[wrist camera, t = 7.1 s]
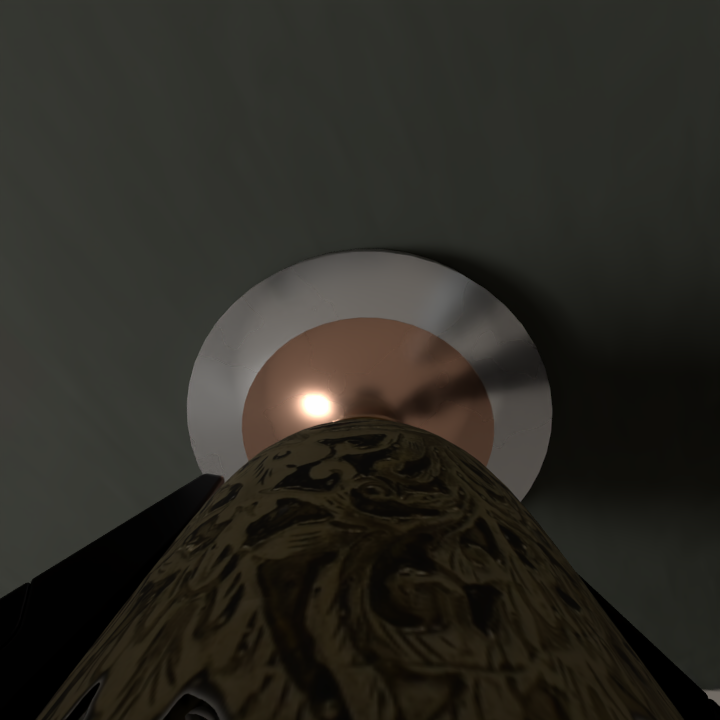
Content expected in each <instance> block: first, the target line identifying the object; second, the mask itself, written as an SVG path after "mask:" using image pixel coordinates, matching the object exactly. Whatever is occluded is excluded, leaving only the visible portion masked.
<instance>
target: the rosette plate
mask: <svg viewBox="0 0 720 720" xmlns="http://www.w3.org/2000/svg"><path fill="white" fill-rule="evenodd" d="M354 414H378V415H383V416H386V417H389V418H392V419H395V420H397V421H399V422H401V423H403V424H408V425H411V426H414V427H417V428H421V429H424V430H426V431H429V432H431V433H433V434H436V435H438V436H440V437H442V438H444V439H446V440H447V441H449V442H451V443H453V444H454V445H456V446H458V447H460V448H461V449H463V450H465V451H466V452H468V453H469V454H470V455H472V456H473V457H475V458H476V459H477V460H479V461H480V462H481V463H482V464H483V465H484V466H485V467H486V468H487V469H489V470H490V471H491V472H492V473H493V474H494V475H495V476H496V477H497V478H498V479H499V480H500V481H501V482H502V483H504V484H505V485H506V486H507V487H508V488H509V490H510V491H511V492H512V493H513V494H514V495H515V496H516V498H517V499H518V500H519V501H520V502H521V501H522V499H523V498H524V497H525V495H526V494H527V493H528V491H529V490H530V488H531V486H532V484H533V483H534V481H535V479H536V477H537V475H538V473H539V471H540V469H541V466H542V463H543V461H544V458H545V455H546V453H547V448H548V444H549V439H550V434H551V424H552V402H551V391H550V386H549V382H548V378H547V374H546V370H545V367H544V364H543V362H542V360H541V357H540V355H539V353H538V351H537V348H536V346H535V344H534V343H533V341H532V339H531V338H530V336H529V335H528V333H527V332H526V330H525V328H524V327H523V325H522V324H521V323H520V322H519V321H518V320H517V318H516V317H515V316H514V315H513V314H512V313H511V311H510V310H509V309H508V308H507V307H506V306H505V305H504V304H503V303H502V302H500V301H499V300H498V299H497V298H496V297H494V296H493V295H492V294H491V293H490V292H489V291H487V290H486V289H485V288H483V287H481V286H480V285H478V284H477V283H475V282H473V281H472V280H470V279H469V278H467V277H465V276H464V275H462V274H461V273H459V272H457V271H456V270H454V269H452V268H450V267H448V266H445V265H443V264H441V263H439V262H436V261H434V260H432V259H429V258H425V257H422V256H418V255H415V254H411V253H408V252H402V251H395V250H388V249H349V250H341V251H334V252H329V253H325V254H322V255H318V256H314V257H311V258H307V259H305V260H303V261H300V262H298V263H296V264H293V265H291V266H289V267H286V268H284V269H283V270H281V271H279V272H277V273H275V274H274V275H272V276H270V277H269V278H267V279H266V280H264V281H262V282H261V283H259V284H257V285H256V286H254V287H253V288H251V289H250V290H249V291H248V292H247V293H245V294H244V295H243V296H242V297H241V298H239V299H238V300H237V301H236V302H235V303H233V304H232V306H231V307H230V308H229V309H228V310H227V311H226V312H225V313H224V315H223V316H222V317H221V318H220V319H219V320H218V321H217V323H216V324H215V326H214V327H213V329H212V330H211V332H210V333H209V335H208V336H207V338H206V340H205V341H204V343H203V345H202V348H201V350H200V352H199V354H198V357H197V359H196V361H195V364H194V368H193V371H192V375H191V379H190V382H189V390H188V399H187V420H188V429H189V435H190V440H191V445H192V448H193V451H194V454H195V457H196V460H197V463H198V465H199V467H200V469H201V471H202V473H203V474H205V473H210V474H215V475H221V476H223V477H224V480H225V482H226V481H227V480H228V479H229V478H230V477H231V476H232V475H233V474H234V473H235V472H237V471H238V470H239V469H240V468H241V467H242V466H243V465H245V464H246V463H247V462H248V461H249V460H250V459H252V458H253V457H254V456H256V455H257V454H259V453H260V452H261V451H263V450H264V449H266V448H268V447H269V446H271V445H273V444H275V443H276V442H278V441H280V440H282V439H284V438H286V437H287V436H289V435H292V434H294V433H296V432H299V431H301V430H303V429H306V428H310V427H313V426H316V425H320V424H324V423H329V422H333V421H335V420H337V419H339V418H342V417H345V416H349V415H354Z"/></svg>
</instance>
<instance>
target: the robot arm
mask: <svg viewBox="0 0 720 720" xmlns="http://www.w3.org/2000/svg"><path fill="white" fill-rule="evenodd" d="M224 483H225V480H224V477H223V476H221V475H215V474H210V473H205V474H203V475H201V476H199V477H198V478H196V479H195V480H193V481H191V482H190V483H188V484H186V485H185V486H183V487H181V488H180V489H178V490H177V491H175V492H173V493H172V494H170V495H168V496H167V497H165V498H164V499H162V500H160V501H159V502H157V503H155V504H154V505H152V506H151V507H149V508H147V509H146V510H144V511H142V512H141V513H139V514H138V515H136V516H134V517H133V518H131V519H129V520H128V521H126V522H125V523H123V524H121V525H120V526H118V527H116V528H115V529H113V530H111V531H110V532H108V533H107V534H105V535H103V536H102V537H100V538H98V539H97V540H95V541H94V542H92V543H90V544H89V545H87V546H85V547H84V548H82V549H81V550H79V551H77V552H76V553H74V554H72V555H71V556H69V557H68V558H66V559H64V560H63V561H61V562H59V563H58V564H56V565H54V566H53V567H51V568H50V569H48V570H46V571H45V572H43V573H41V574H40V575H38V576H37V577H35V578H33V579H32V581H31V584H30V583H25V584H23V585H22V586H20V587H18V588H17V589H15V590H13V591H12V592H10V593H9V594H7V595H5V596H4V597H2V598H0V720H35V719H36V718H37V717H38V715H39V714H40V713H41V712H42V710H43V709H44V708H45V706H46V705H47V704H48V702H49V701H50V700H51V699H52V697H53V696H54V695H55V693H56V692H57V691H58V689H59V688H60V687H61V686H62V684H63V683H64V682H65V680H66V679H67V678H68V676H69V675H70V674H71V673H72V671H73V670H74V669H75V667H76V666H77V665H78V664H79V662H80V661H81V660H82V658H83V657H84V656H85V654H86V653H87V652H88V651H89V649H90V648H91V647H92V645H93V644H94V643H95V642H96V640H97V639H98V638H99V636H100V635H101V634H102V633H103V631H104V630H105V629H106V627H107V626H108V625H109V624H110V622H111V621H112V620H113V618H114V617H115V616H116V614H117V613H118V612H119V611H120V609H121V608H122V607H123V606H124V604H125V603H126V602H127V600H128V599H129V598H130V597H131V595H132V594H133V593H134V591H135V590H136V589H137V588H138V586H139V585H140V584H141V583H142V581H143V580H144V579H145V577H146V576H147V575H148V574H149V572H150V571H151V570H152V569H153V567H154V566H155V565H156V563H157V562H158V561H159V560H160V558H161V557H162V556H163V555H164V553H165V552H166V551H167V550H168V548H169V547H170V546H171V545H172V543H173V542H174V541H175V539H176V538H177V537H178V536H179V534H180V533H181V532H182V531H183V529H184V528H185V527H186V526H187V525H188V523H189V522H190V521H191V520H192V519H193V517H194V516H195V515H196V514H197V513H198V511H199V510H200V509H201V508H202V507H203V505H204V504H205V503H206V502H207V501H208V500H209V499H210V498H211V497H212V496H213V495H214V493H215V492H216V491H217V490H218V489H219V488H220V487H221V486H222V485H223V484H224ZM578 576H579V577H580V579H581V580H582V581H583V583H584V584H585V585H586V587H587V588H588V589H589V591H590V592H591V593H592V595H593V596H594V597H595V599H596V600H597V601H598V603H599V604H600V605H601V607H602V608H603V610H604V611H605V612H606V614H607V615H608V616H609V618H610V619H611V620H612V622H613V623H614V624H615V626H616V627H617V629H618V630H619V631H620V633H621V634H622V635H623V637H624V638H625V639H626V641H627V642H628V643H629V645H630V646H631V648H632V649H633V650H634V652H635V653H636V654H637V656H638V657H639V658H640V660H641V661H642V663H643V664H644V665H645V667H646V668H647V669H648V671H649V672H650V674H651V675H652V676H653V678H654V679H655V680H656V682H657V683H658V684H659V686H660V687H661V689H662V690H663V691H664V693H665V694H666V695H667V697H668V698H669V700H670V701H671V702H672V704H673V705H674V706H675V708H676V709H677V710H678V712H679V713H680V715H681V716H682V717H683V719H684V720H720V706H719V705H718V704H717V703H716V702H714V701H713V700H712V699H708V696H707V694H706V693H705V692H704V691H703V690H702V689H701V688H699V687H698V686H697V685H696V684H695V683H694V682H693V681H692V680H691V679H690V678H689V677H688V676H687V675H686V674H684V673H683V672H682V671H681V670H680V669H679V668H678V667H677V666H676V665H675V664H674V663H673V662H672V661H671V660H669V659H668V658H667V657H666V656H665V655H664V654H663V653H662V652H661V651H660V650H659V649H658V648H657V647H656V646H654V645H653V644H652V643H651V642H650V641H649V640H648V639H647V638H646V637H645V636H644V635H643V634H642V633H641V632H639V631H638V630H637V629H636V628H635V627H634V626H633V625H632V624H631V623H630V622H629V621H628V620H627V619H626V618H625V617H623V616H622V615H621V614H620V613H619V612H618V611H617V610H616V609H615V608H614V607H613V606H612V605H611V604H610V603H608V602H607V601H606V600H605V599H604V598H603V597H602V596H601V595H600V594H599V593H598V592H597V591H596V590H595V589H593V588H592V587H591V586H590V585H589V584H588V583H587V582H586V581H585V580H584V579H583V578H582V577H581V576H580V575H578Z"/></svg>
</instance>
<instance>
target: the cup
mask: <svg viewBox="0 0 720 720" xmlns="http://www.w3.org/2000/svg"><path fill="white" fill-rule="evenodd" d="M35 720H684V719H683V717H682V716H681V715H680V713H679V712H678V710H677V709H676V708H675V706H674V705H673V704H672V702H671V701H670V700H669V698H668V697H667V695H666V694H665V693H664V691H663V690H662V689H661V687H660V686H659V684H658V683H657V682H656V680H655V679H654V678H653V676H652V675H651V674H650V672H649V671H648V669H647V668H646V667H645V665H644V664H643V663H642V661H641V660H640V658H639V657H638V656H637V654H636V653H635V652H634V650H633V649H632V648H631V646H630V645H629V643H628V642H627V641H626V639H625V638H624V637H623V635H622V634H621V633H620V631H619V630H618V629H617V627H616V626H615V624H614V623H613V622H612V620H611V619H610V618H609V616H608V615H607V614H606V612H605V611H604V610H603V608H602V607H601V605H600V604H599V603H598V601H597V600H596V599H595V597H594V596H593V595H592V593H591V592H590V591H589V589H588V588H587V587H586V585H585V584H584V583H583V581H582V580H581V579H580V577H579V576H578V574H577V573H576V572H575V570H574V569H573V568H572V566H571V565H570V564H569V562H568V561H567V560H566V558H565V557H564V556H563V554H562V553H561V552H560V550H559V549H558V548H557V547H556V545H555V544H554V543H553V541H552V540H551V539H550V538H549V536H548V535H547V534H546V533H545V531H544V530H543V529H542V527H541V526H540V525H539V524H538V522H537V521H536V520H535V519H534V518H533V516H532V515H531V514H530V513H529V511H528V510H527V509H526V508H525V507H524V506H523V504H522V503H521V502H520V501H519V500H518V499H517V498H516V496H515V495H514V494H513V493H512V492H511V491H510V490H509V488H508V487H507V486H506V485H505V484H504V483H502V482H501V481H500V480H499V479H498V478H497V477H496V476H495V475H494V474H493V473H492V472H491V471H490V470H489V469H487V468H486V467H485V466H484V465H483V464H482V463H481V462H480V461H479V460H477V459H476V458H475V457H473V456H472V455H470V454H469V453H468V452H466V451H465V450H463V449H461V448H460V447H458V446H456V445H454V444H453V443H451V442H449V441H447V440H446V439H444V438H442V437H440V436H438V435H436V434H433V433H431V432H429V431H426V430H424V429H421V428H417V427H414V426H411V425H408V424H403V423H401V422H399V421H397V420H395V419H392V418H389V417H386V416H383V415H378V414H354V415H349V416H345V417H342V418H339V419H337V420H335V421H333V422H329V423H324V424H320V425H316V426H313V427H310V428H306V429H303V430H301V431H299V432H296V433H294V434H292V435H289V436H287V437H286V438H284V439H282V440H280V441H278V442H276V443H275V444H273V445H271V446H269V447H268V448H266V449H264V450H263V451H261V452H260V453H259V454H257V455H256V456H254V457H253V458H252V459H250V460H249V461H248V462H247V463H246V464H245V465H243V466H242V467H241V468H240V469H239V470H238V471H237V472H235V473H234V474H233V475H232V476H231V477H230V478H229V479H228V480H227V481H226V482H225V483H224V484H223V485H222V486H221V487H220V488H219V489H218V490H217V491H216V492H215V493H214V495H213V496H212V497H211V498H210V499H209V500H208V501H207V502H206V503H205V504H204V505H203V507H202V508H201V509H200V510H199V511H198V513H197V514H196V515H195V516H194V517H193V519H192V520H191V521H190V522H189V523H188V525H187V526H186V527H185V528H184V529H183V531H182V532H181V533H180V534H179V536H178V537H177V538H176V539H175V541H174V542H173V543H172V545H171V546H170V547H169V548H168V550H167V551H166V552H165V553H164V555H163V556H162V557H161V558H160V560H159V561H158V562H157V563H156V565H155V566H154V567H153V569H152V570H151V571H150V572H149V574H148V575H147V576H146V577H145V579H144V580H143V581H142V583H141V584H140V585H139V586H138V588H137V589H136V590H135V591H134V593H133V594H132V595H131V597H130V598H129V599H128V600H127V602H126V603H125V604H124V606H123V607H122V608H121V609H120V611H119V612H118V613H117V614H116V616H115V617H114V618H113V620H112V621H111V622H110V624H109V625H108V626H107V627H106V629H105V630H104V631H103V633H102V634H101V635H100V636H99V638H98V639H97V640H96V642H95V643H94V644H93V645H92V647H91V648H90V649H89V651H88V652H87V653H86V654H85V656H84V657H83V658H82V660H81V661H80V662H79V664H78V665H77V666H76V667H75V669H74V670H73V671H72V673H71V674H70V675H69V676H68V678H67V679H66V680H65V682H64V683H63V684H62V686H61V687H60V688H59V689H58V691H57V692H56V693H55V695H54V696H53V697H52V699H51V700H50V701H49V702H48V704H47V705H46V706H45V708H44V709H43V710H42V712H41V713H40V714H39V715H38V717H37V718H36V719H35Z"/></svg>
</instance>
